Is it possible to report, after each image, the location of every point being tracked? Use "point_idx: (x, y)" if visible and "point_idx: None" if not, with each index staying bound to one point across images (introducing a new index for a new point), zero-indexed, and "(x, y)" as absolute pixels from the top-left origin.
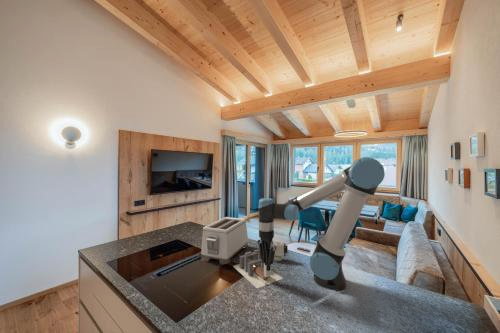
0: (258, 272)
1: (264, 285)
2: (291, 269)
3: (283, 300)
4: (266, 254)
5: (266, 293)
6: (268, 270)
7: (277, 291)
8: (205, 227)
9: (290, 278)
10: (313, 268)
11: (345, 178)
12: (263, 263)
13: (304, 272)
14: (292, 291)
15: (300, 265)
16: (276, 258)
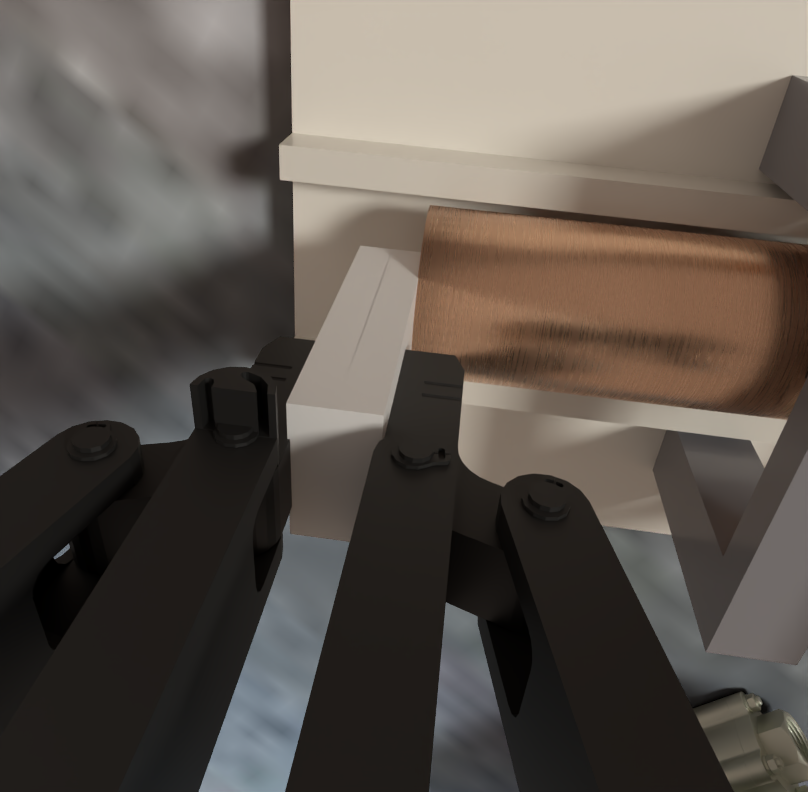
0: (605, 244)
1: (295, 112)
2: (444, 683)
3: None
4: (59, 735)
5: (131, 2)
6: (268, 356)
7: (104, 208)
8: None
9: (288, 549)
10: None
11: None
12: (715, 521)
13: (300, 711)
14: (24, 369)
15: (440, 778)
16: (739, 756)
